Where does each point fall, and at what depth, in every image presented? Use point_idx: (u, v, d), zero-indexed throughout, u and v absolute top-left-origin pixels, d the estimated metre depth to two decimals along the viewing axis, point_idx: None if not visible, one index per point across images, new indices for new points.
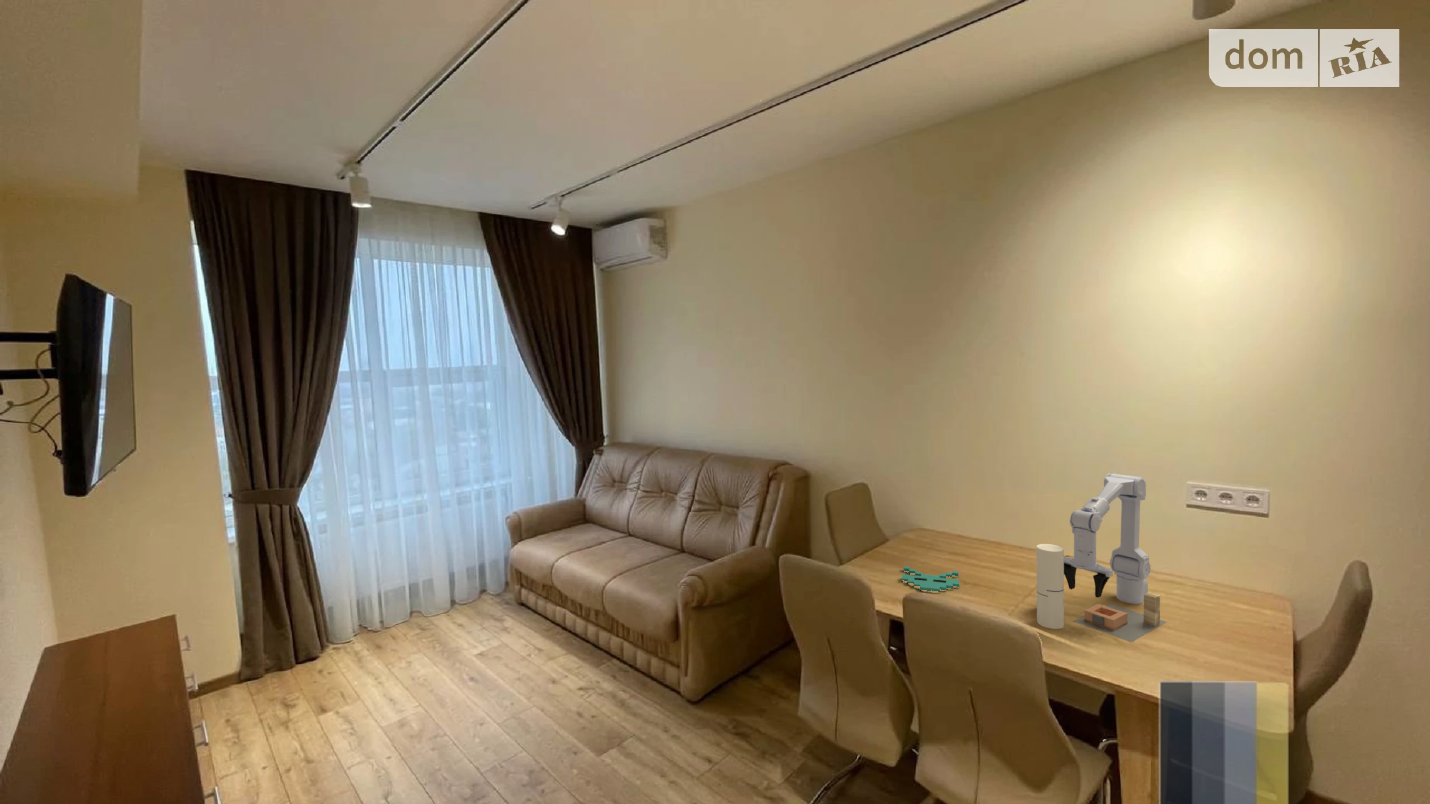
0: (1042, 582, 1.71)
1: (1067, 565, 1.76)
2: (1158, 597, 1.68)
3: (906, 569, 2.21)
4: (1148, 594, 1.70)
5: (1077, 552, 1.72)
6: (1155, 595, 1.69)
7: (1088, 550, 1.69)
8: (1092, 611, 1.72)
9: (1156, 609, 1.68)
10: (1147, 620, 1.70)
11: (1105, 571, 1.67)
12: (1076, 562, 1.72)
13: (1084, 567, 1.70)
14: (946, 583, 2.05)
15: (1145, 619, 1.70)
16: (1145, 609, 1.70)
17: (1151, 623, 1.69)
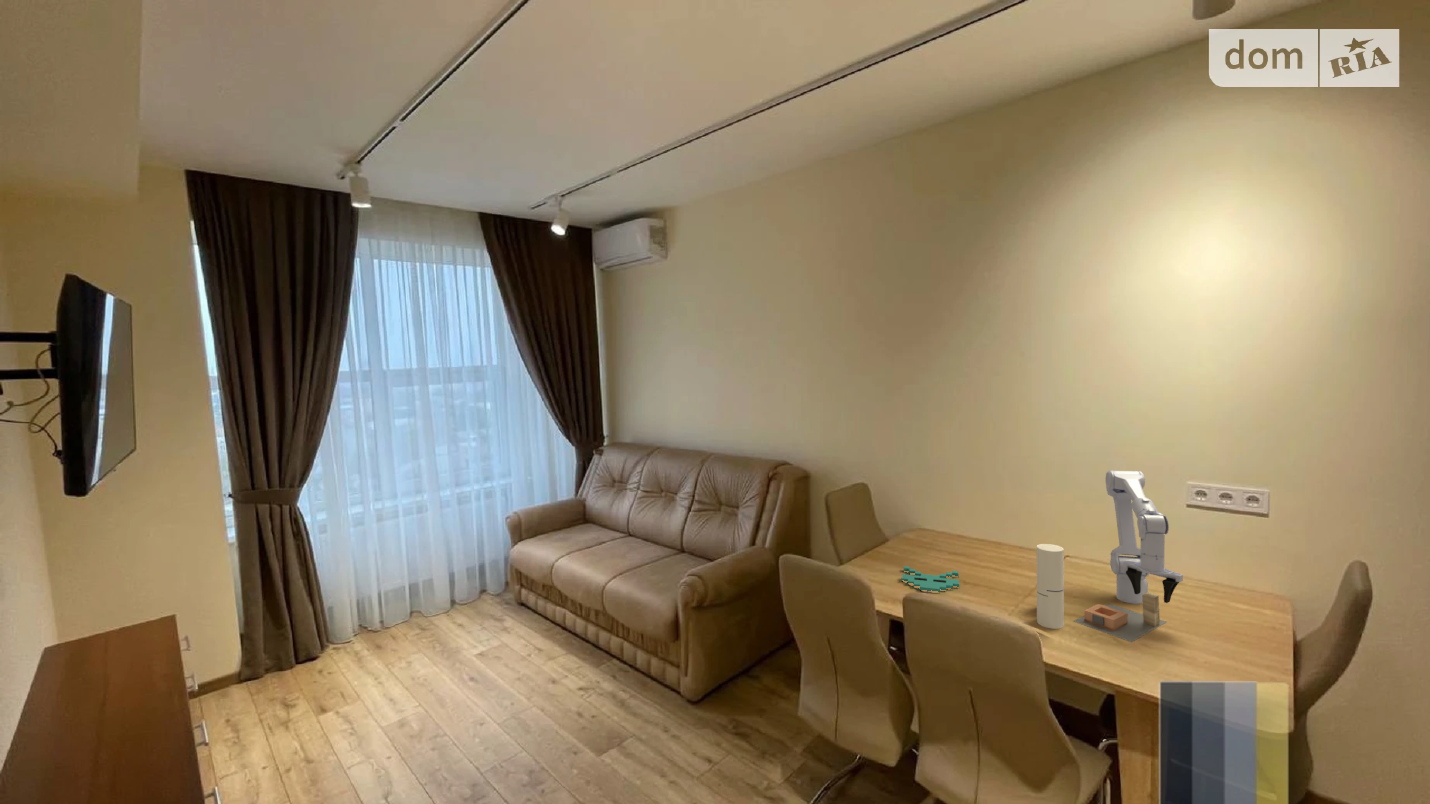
0: (1042, 582, 1.71)
1: (1132, 569, 1.73)
2: (1156, 597, 1.68)
3: (906, 569, 2.21)
4: (1146, 594, 1.70)
5: (1144, 556, 1.68)
6: (1153, 595, 1.69)
7: (1163, 554, 1.66)
8: (1092, 611, 1.72)
9: (1155, 609, 1.68)
10: (1147, 620, 1.70)
11: (1175, 576, 1.63)
12: (1143, 567, 1.69)
13: (1152, 572, 1.67)
14: (946, 583, 2.05)
15: (1145, 619, 1.70)
16: (1144, 609, 1.70)
17: (1151, 623, 1.69)
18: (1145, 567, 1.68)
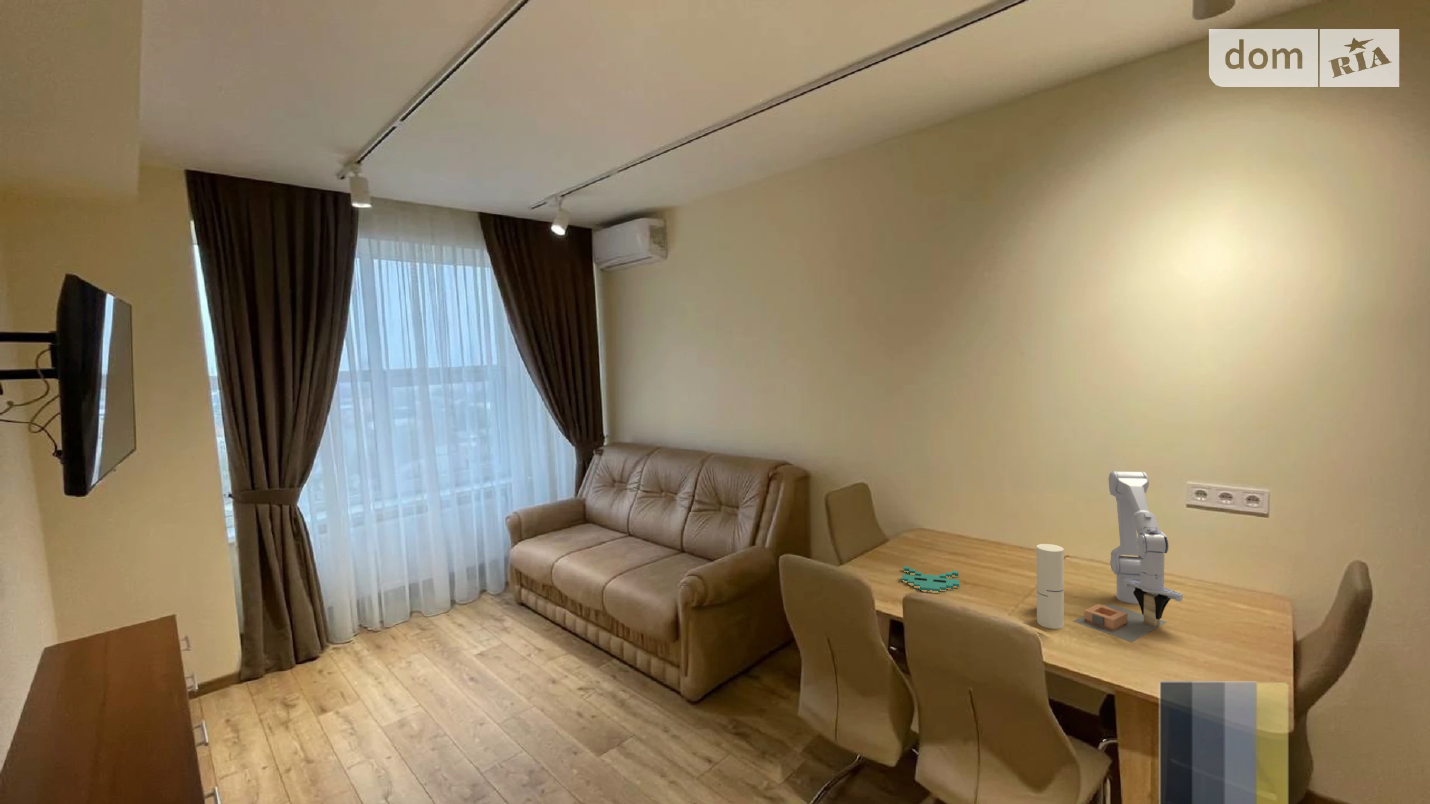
0: (1042, 582, 1.71)
1: (1132, 588, 1.73)
2: None
3: (906, 569, 2.21)
4: (1148, 594, 1.70)
5: (1144, 575, 1.68)
6: (1155, 595, 1.69)
7: (1162, 573, 1.66)
8: (1092, 611, 1.72)
9: None
10: (1147, 620, 1.70)
11: (1175, 595, 1.63)
12: (1143, 585, 1.69)
13: (1152, 591, 1.67)
14: (946, 583, 2.05)
15: (1145, 619, 1.70)
16: (1145, 609, 1.70)
17: (1151, 623, 1.69)
18: (1145, 586, 1.68)
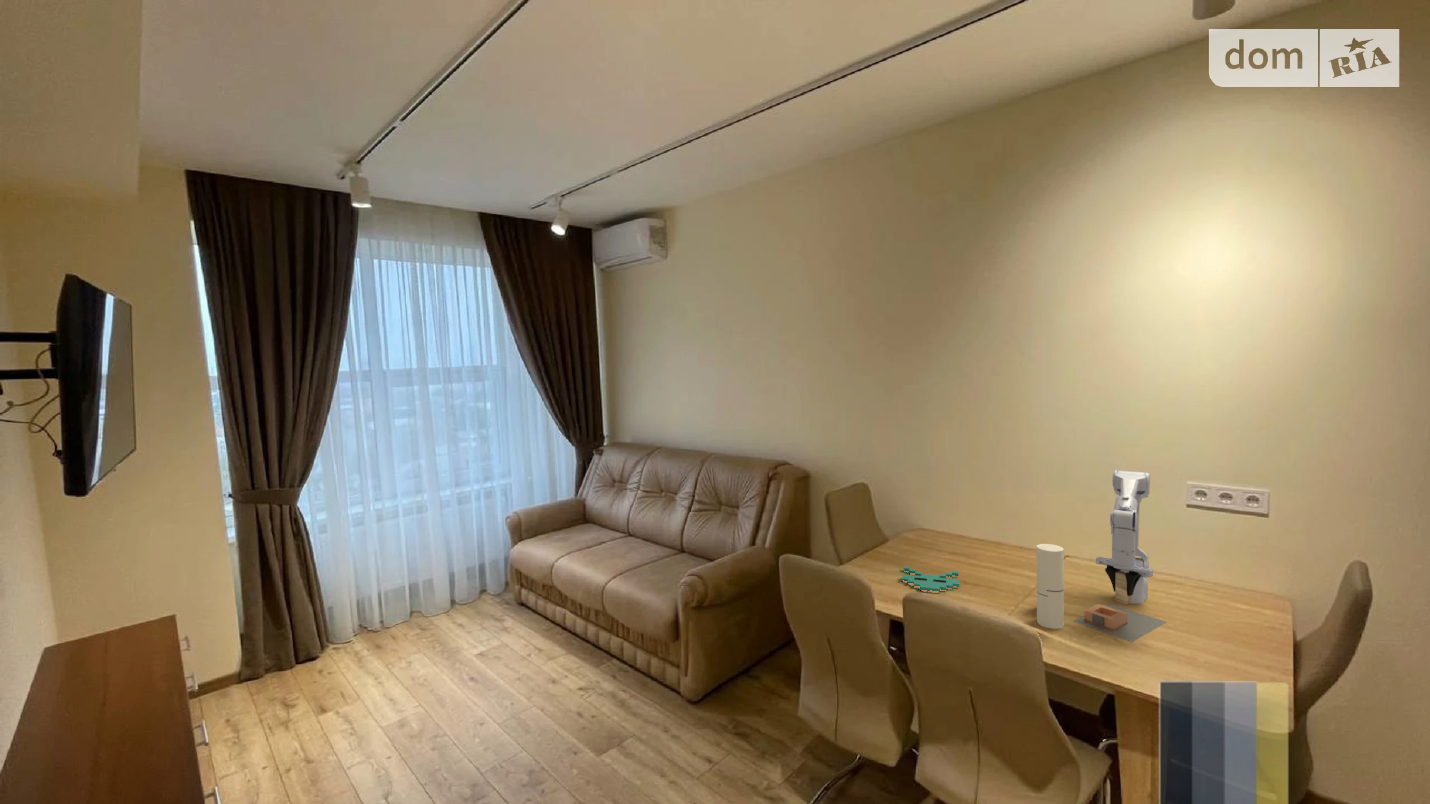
0: (1042, 582, 1.71)
1: None
2: None
3: (906, 569, 2.21)
4: (1120, 572, 1.71)
5: (1116, 552, 1.69)
6: None
7: (1131, 550, 1.67)
8: (1092, 611, 1.72)
9: None
10: (1118, 598, 1.70)
11: (1145, 571, 1.64)
12: (1114, 562, 1.70)
13: (1123, 567, 1.68)
14: (946, 583, 2.05)
15: (1117, 597, 1.71)
16: (1117, 587, 1.71)
17: (1122, 601, 1.69)
18: (1116, 563, 1.69)
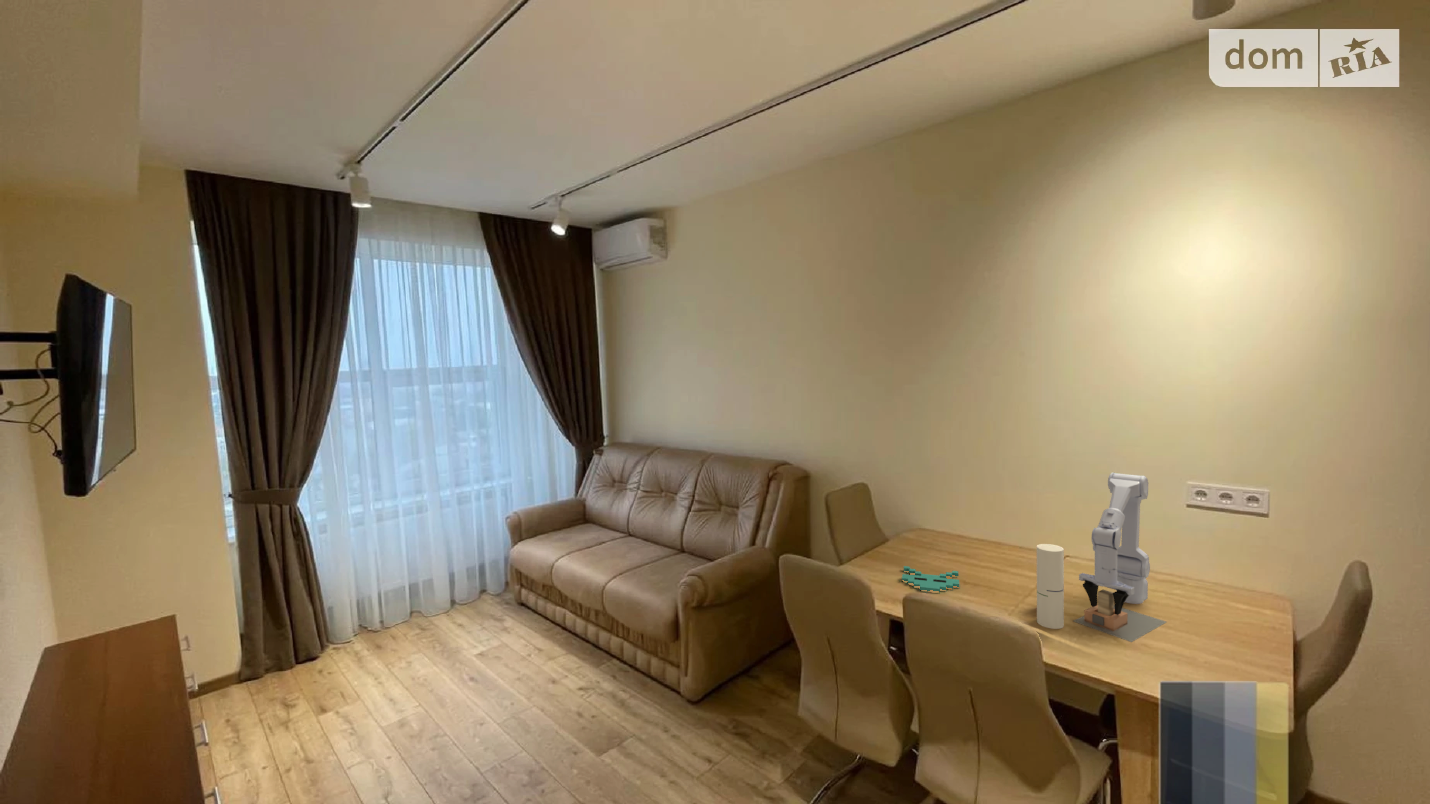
0: (1042, 582, 1.71)
1: (1087, 582, 1.75)
2: (1111, 594, 1.70)
3: (906, 569, 2.21)
4: (1102, 591, 1.72)
5: (1098, 569, 1.70)
6: (1109, 592, 1.71)
7: (1111, 567, 1.68)
8: (1092, 611, 1.72)
9: (1109, 606, 1.70)
10: None
11: (1127, 589, 1.65)
12: (1097, 579, 1.71)
13: (1105, 584, 1.69)
14: (946, 582, 2.05)
15: None
16: (1099, 606, 1.72)
17: None
18: (1099, 580, 1.70)
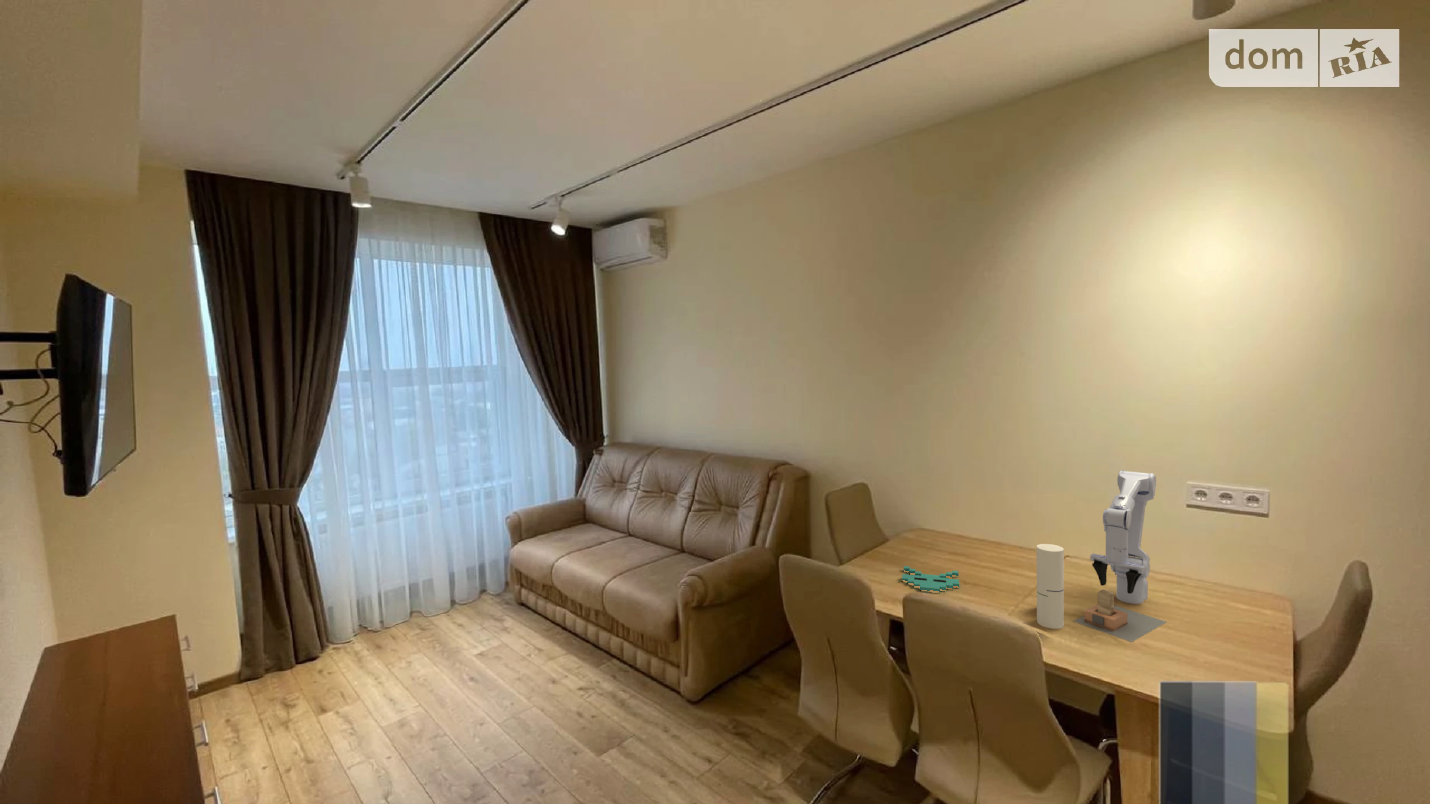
0: (1042, 582, 1.71)
1: (1098, 562, 1.80)
2: (1111, 594, 1.70)
3: (906, 569, 2.21)
4: (1102, 591, 1.72)
5: (1109, 549, 1.75)
6: (1109, 592, 1.71)
7: (1122, 547, 1.73)
8: (1092, 611, 1.72)
9: (1109, 606, 1.70)
10: None
11: (1137, 568, 1.70)
12: (1108, 559, 1.76)
13: (1116, 564, 1.73)
14: (946, 582, 2.05)
15: None
16: (1099, 606, 1.72)
17: None
18: (1110, 559, 1.75)
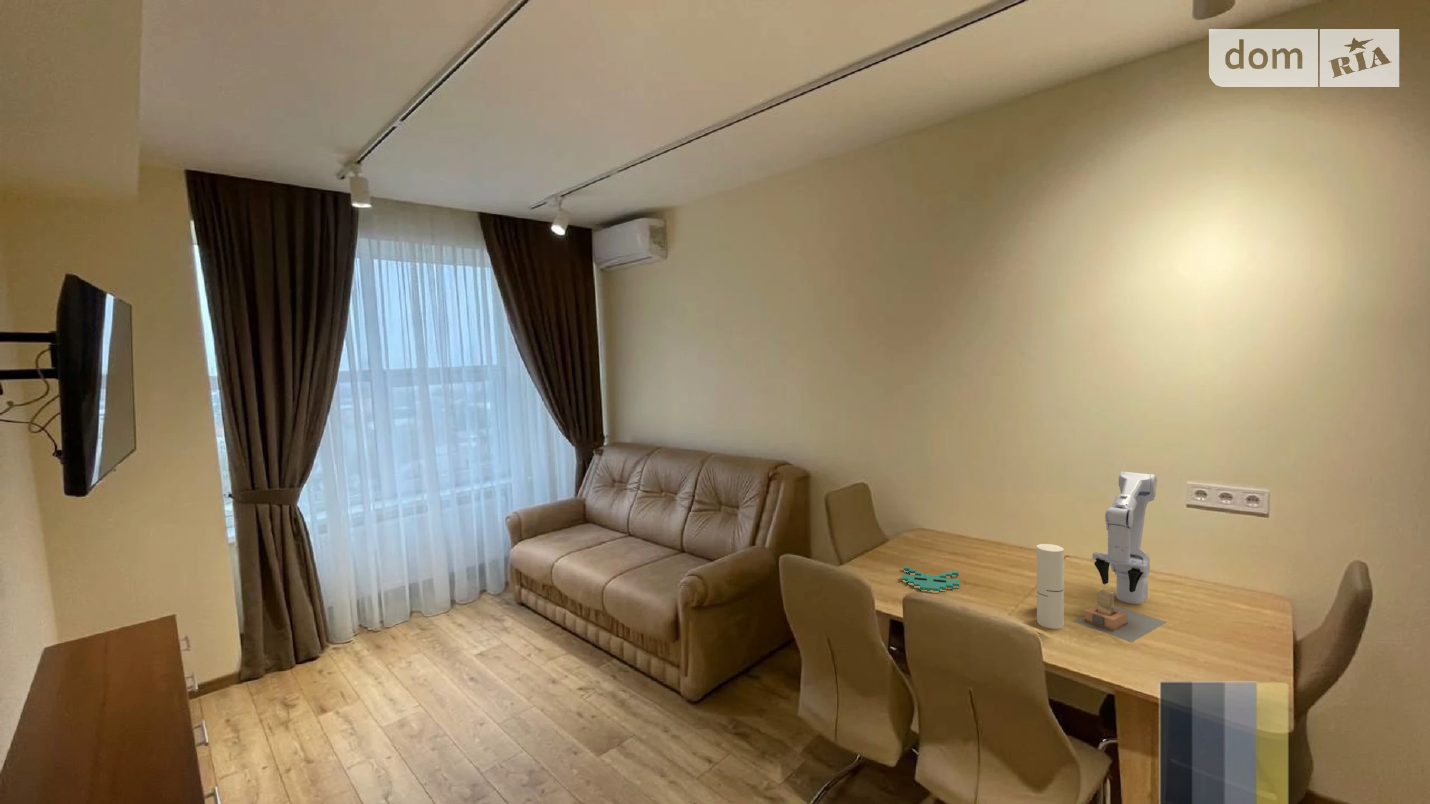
0: (1042, 582, 1.71)
1: (1101, 561, 1.81)
2: (1111, 594, 1.70)
3: (906, 569, 2.21)
4: (1102, 591, 1.72)
5: (1111, 548, 1.76)
6: (1109, 592, 1.71)
7: (1124, 546, 1.74)
8: (1092, 611, 1.72)
9: (1109, 606, 1.70)
10: None
11: (1139, 566, 1.71)
12: (1110, 558, 1.76)
13: (1118, 562, 1.74)
14: (946, 582, 2.05)
15: None
16: (1099, 606, 1.72)
17: None
18: (1112, 558, 1.76)
